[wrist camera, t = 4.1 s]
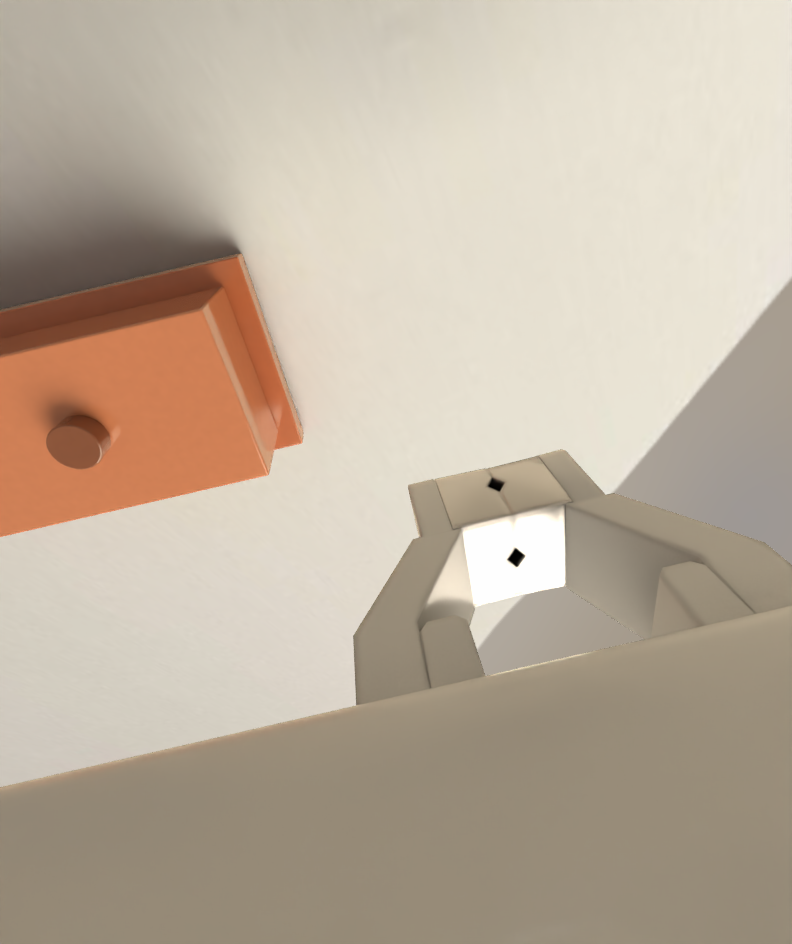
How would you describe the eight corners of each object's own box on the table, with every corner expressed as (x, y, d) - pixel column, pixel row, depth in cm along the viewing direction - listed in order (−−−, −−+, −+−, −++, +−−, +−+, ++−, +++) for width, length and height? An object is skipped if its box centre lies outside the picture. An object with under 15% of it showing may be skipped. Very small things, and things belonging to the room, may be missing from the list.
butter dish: (242, 252, 17) (210, 279, 13) (303, 433, 21) (296, 500, 17) (-77, 327, 17) (-218, 379, 13) (45, 493, 22) (-30, 576, 17)
